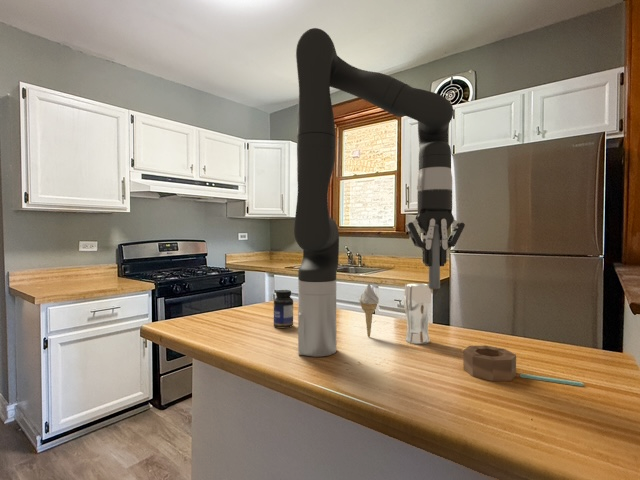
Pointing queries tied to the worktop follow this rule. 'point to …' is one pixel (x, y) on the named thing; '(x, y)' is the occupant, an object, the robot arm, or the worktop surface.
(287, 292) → the pill bottle
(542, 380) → the teal thin bar
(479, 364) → the bead
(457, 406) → the worktop surface
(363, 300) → the ice cream cone
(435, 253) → the grey rounded rod
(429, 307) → the beer glass
